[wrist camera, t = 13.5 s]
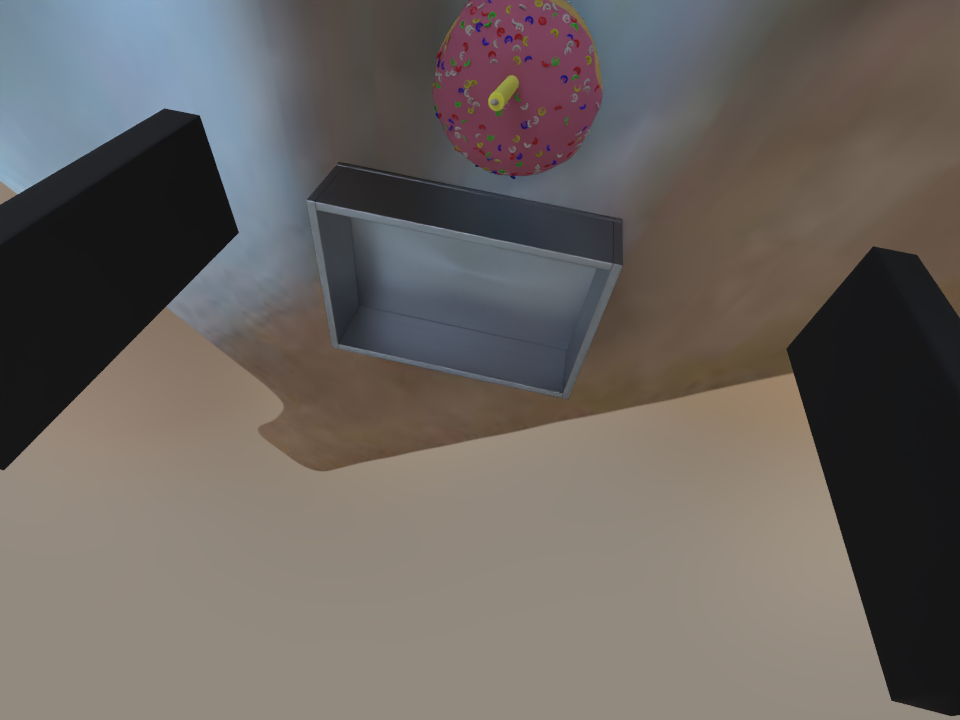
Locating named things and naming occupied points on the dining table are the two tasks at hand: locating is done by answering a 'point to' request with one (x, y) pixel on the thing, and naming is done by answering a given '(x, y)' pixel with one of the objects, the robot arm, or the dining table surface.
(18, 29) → the dining table surface
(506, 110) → the cupcake
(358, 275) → the open rectangular bin
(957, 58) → the dining table surface
